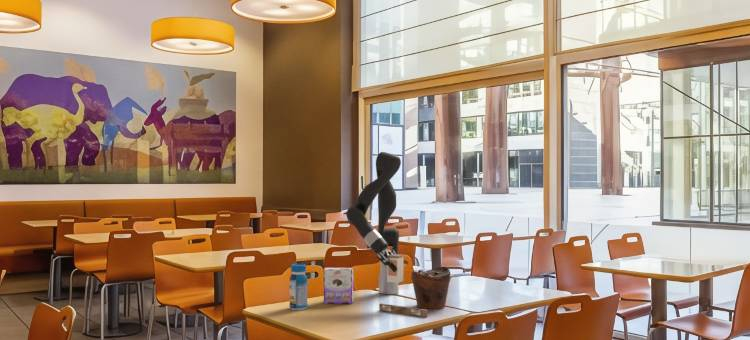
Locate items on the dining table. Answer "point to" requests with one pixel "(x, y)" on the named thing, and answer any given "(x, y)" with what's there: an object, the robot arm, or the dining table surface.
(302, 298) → the beverage bottle
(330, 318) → the dining table surface
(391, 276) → the sugar carton
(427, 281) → the brown round rimmed container
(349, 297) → the candy box
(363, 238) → the robot arm
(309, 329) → the dining table surface
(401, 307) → the rail
